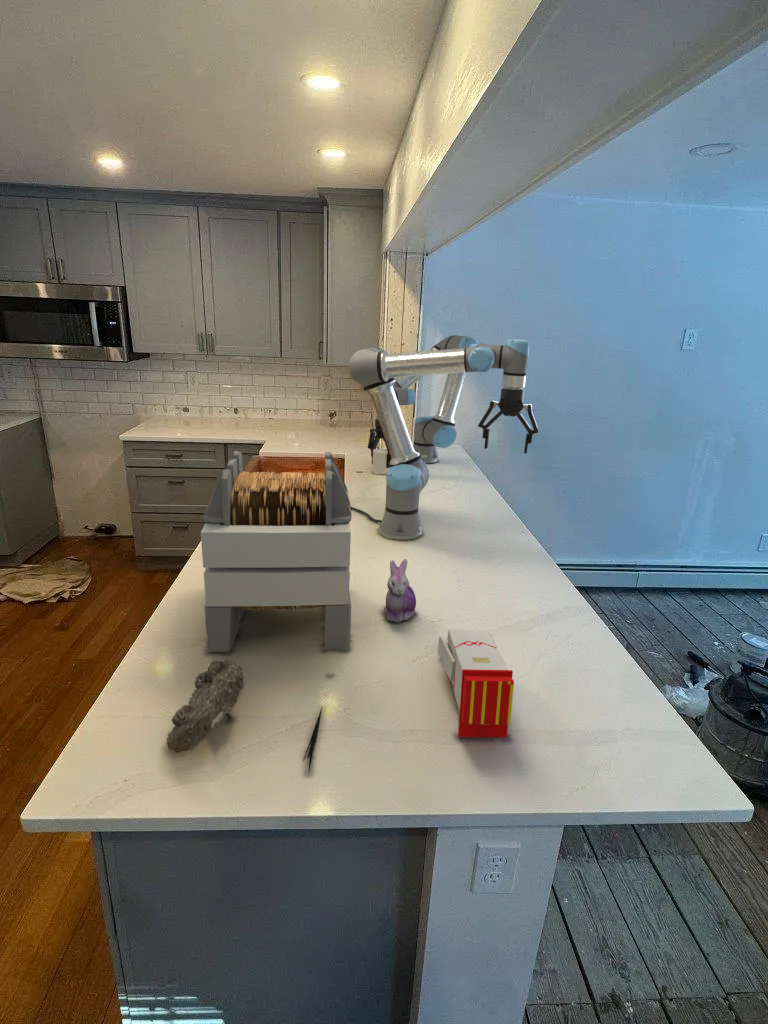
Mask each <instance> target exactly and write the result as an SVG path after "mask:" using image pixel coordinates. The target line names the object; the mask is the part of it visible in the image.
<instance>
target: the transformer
mask: <svg viewBox="0 0 768 1024" xmlns="http://www.w3.org/2000/svg"><path fill="white" fill-rule="evenodd" d="M337 465H338V464H337V463H336V461H335V459H334V457H333V454H332V452H330V451H324V472H317V473H316V472H307V473H306V472H305V473H304V472H301V471H300V472H299V471H298V472H297V471H296V472H294V471H293V472H292V471H291V472H290V471H289V472H288V471H282V472H278V473H277V472H274V471H261V472H259V471H251V472H250V471H244V469H243V468H244V467H243V466H244V465H243V453H242V451H237V450H234V451H233V453H232V454H231V457H230V458H229V459H228V462H227V464H226V466H225V468H224V469H223V470H222V471H221V474H220V476H219V479H218V481H217V483H216V485H215V487H214V490H213V492H212V494H211V497H210V498H209V502H208V503H207V506H206V508H205V510H204V514H203V521H204V522H205V523H204V525H203V527H202V529H201V531H200V541H201V556H202V568H205V570H204V571H203V582H204V596H205V599H204V600H205V605H204V621H205V633H206V640H207V641H206V642H207V648H206V651H207V653H215V652H217V653H218V652H219V653H220V652H221V653H222V652H223V653H224V652H226V653H227V652H230V651H231V649H232V646H233V644H234V642H235V638H236V637H237V634H238V632H239V629H240V624H239V623H240V622H239V621H240V620H242V617H243V613H244V611H245V610H252V611H254V610H255V611H256V610H293V609H294V610H296V609H297V610H299V609H300V610H301V609H303V610H306V609H307V610H310V609H312V610H313V609H324V611H323V612H324V614H323V616H324V617H323V618H324V650H325V651H326V650H332V651H333V650H334V651H335V650H342V651H347V650H349V649H350V648H351V631H352V626H351V625H352V603H351V591H350V580H351V579H350V578H351V576H350V575H351V570H350V566H351V543H352V542H351V538H352V537H351V536H352V535H351V534H352V531H351V525H350V522H351V521H352V516H353V515H352V509H351V507H352V506H351V501H350V496H349V495H350V494H349V489H348V486H347V485H346V483H345V480H344V478H343V476H342V474H341V471H340V470H339V467H338V466H337ZM350 506H351V507H350Z"/></svg>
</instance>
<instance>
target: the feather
mask: <svg viewBox="0 0 768 1024" xmlns="http://www.w3.org/2000/svg"><path fill="white" fill-rule="evenodd" d="M329 675H330V676H331V675H332V674H331V673H330V674H329ZM322 710H323V707H321V708H320V710H319V713H318V716H317V719H316V723H315V725H314V728H313V731H312V733H311V737H310V739H309V742H308V745H307V748H306V751H305V754H304V757H303V760H302V763H301V767H302V765H303V763H304V761H305V758H308V759H309V760H308V762H307V763H308V764H307V766H308V771H310V770H311V766H312V765H311V764H312V760H313V757H315V756H314V755H315V751H316V749H315V746H317V739H318V733H319V729H320V722H321V717H322V712H323V711H322ZM313 754H314V755H313ZM306 755H307V757H306Z"/></svg>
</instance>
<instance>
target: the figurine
mask: <svg viewBox="0 0 768 1024" xmlns="http://www.w3.org/2000/svg"><path fill="white" fill-rule="evenodd" d="M407 567H408V559H406V558H404V559H403V560H402V561H401V563H400V565H399V566H398V565H397V563H396V562H395V561H394V560H393V559H391V560H390V561H389V570H390V576H389V578H388V579H387V589H388V591H387V592H386V594H385V595H386V596H385V607H384V615H385V616H386V620H387V621H391V622H395V623H400V622H402V621H406V620H409V619H410V618H411V617H413V616H414V615H415V610H416V606H417V597H416V593H415V591H414V590H413V587H411V586H410V582H409V579H408V577H407V574H406V571H407Z"/></svg>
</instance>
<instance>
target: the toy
mask: <svg viewBox="0 0 768 1024" xmlns="http://www.w3.org/2000/svg"><path fill="white" fill-rule="evenodd" d="M446 640H447V643H446V641H445V639H444V636H443V635H442V634H439V637H438V646H437V656H438V657H439V659H440V661H441V663H442V666H443V668H444V670H445V672H446V674H447V677H448V679H449V681H450V684H451V687H452V690H453V693H454V697H455V701H456V705H457V708H458V711H459V714H458V715H459V716H458V730H457V731H458V732H457V737H458V738H508V731H509V726H510V725H511V717H512V707H513V697H514V696H513V695H514V684H515V680H514V679H513V673H514V671H513V670H512V669H508V667H507V665H506V662H505V661H504V659H503V658H502V655H501V653H500V651H499V649H498V647H497V643H496V639H495V637H494V635H493V634H491V632H490V631H489V629H467V628H466V629H465V628H463V629H461V628H460V629H459V628H448V630H447V639H446Z"/></svg>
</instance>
